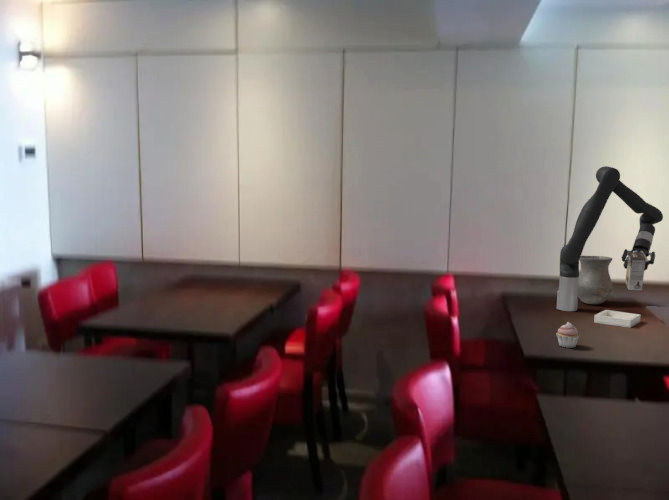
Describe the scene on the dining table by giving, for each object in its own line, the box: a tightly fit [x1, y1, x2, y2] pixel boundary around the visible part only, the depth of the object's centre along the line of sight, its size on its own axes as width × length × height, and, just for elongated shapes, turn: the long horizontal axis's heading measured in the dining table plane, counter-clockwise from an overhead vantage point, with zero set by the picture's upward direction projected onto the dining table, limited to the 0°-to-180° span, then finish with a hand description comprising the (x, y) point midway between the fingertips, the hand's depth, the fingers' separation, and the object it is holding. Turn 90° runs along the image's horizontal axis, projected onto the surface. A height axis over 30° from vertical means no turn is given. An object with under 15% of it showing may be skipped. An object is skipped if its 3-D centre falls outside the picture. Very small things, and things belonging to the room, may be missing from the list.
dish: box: [593, 309, 641, 329], centre depth 311 cm, size 16×16×4 cm
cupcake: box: [555, 321, 581, 349], centre depth 268 cm, size 9×9×10 cm
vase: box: [578, 255, 614, 305], centre depth 353 cm, size 20×19×25 cm
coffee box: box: [624, 252, 646, 291], centre depth 315 cm, size 9×6×16 cm
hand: (634, 268), depth 316 cm, fingers closed on coffee box, 8 cm apart
